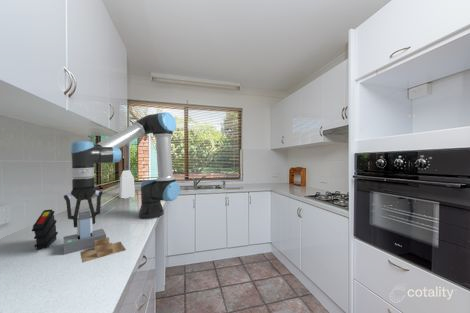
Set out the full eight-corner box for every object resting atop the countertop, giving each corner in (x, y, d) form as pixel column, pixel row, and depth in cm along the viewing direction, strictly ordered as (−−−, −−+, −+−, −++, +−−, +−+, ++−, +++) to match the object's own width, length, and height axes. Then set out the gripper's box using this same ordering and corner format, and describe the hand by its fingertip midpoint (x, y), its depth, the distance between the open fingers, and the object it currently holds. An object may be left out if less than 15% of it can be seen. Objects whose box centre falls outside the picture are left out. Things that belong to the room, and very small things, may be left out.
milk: (132, 195, 209) (131, 169, 209) (135, 197, 200) (134, 170, 200) (119, 197, 202) (118, 170, 201) (121, 198, 192) (120, 171, 192)
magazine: (60, 233, 100) (53, 208, 94) (49, 256, 89) (40, 229, 83) (50, 234, 99) (43, 209, 93) (38, 257, 87) (28, 231, 81)
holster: (120, 243, 90) (120, 233, 90) (126, 252, 81) (126, 241, 81) (80, 254, 81) (80, 242, 81) (82, 265, 72) (82, 252, 72)
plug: (89, 238, 90) (89, 211, 90) (90, 242, 86) (90, 213, 86) (79, 240, 88) (78, 212, 88) (80, 244, 84) (79, 215, 84)
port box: (103, 239, 95) (102, 228, 95) (106, 246, 88) (106, 234, 88) (63, 248, 86) (63, 236, 86) (63, 257, 79) (63, 243, 79)
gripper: (57, 180, 79) (58, 241, 79) (107, 176, 90) (109, 230, 90) (57, 179, 85) (59, 235, 85) (105, 175, 95) (106, 226, 95)
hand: (84, 233), depth 87 cm, fingers closed on plug, 4 cm apart
